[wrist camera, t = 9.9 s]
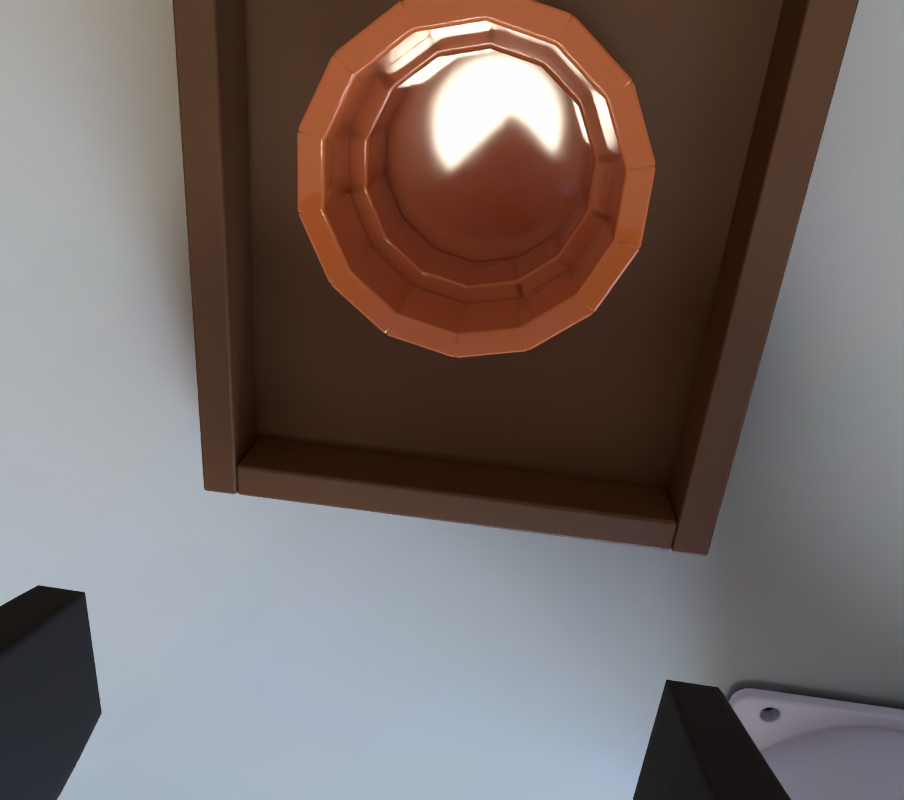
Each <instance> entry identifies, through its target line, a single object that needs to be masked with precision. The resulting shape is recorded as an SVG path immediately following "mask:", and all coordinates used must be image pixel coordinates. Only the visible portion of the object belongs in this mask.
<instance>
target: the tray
mask: <svg viewBox="0 0 904 800" xmlns="http://www.w3.org/2000/svg"><path fill="white" fill-rule="evenodd" d="M398 1H403V0H173V13H174V28H175V44H176V59H177V75H178V90H179V106H180V121H181V137H182V152H183V168H184V183H185V199H186V214H187V230H188V245H189V261H190V277H191V292H192V308H193V323H194V339H195V354H196V370H197V385H198V401H199V416H200V432H201V447H202V463H203V478H204V489H205V490H207V491H215V492H223V493H230V494H236V493H237V492H238V493H239V494H241V495H248V496H256V497H264V498H272V499H279V500H287V501H295V502H302V503H310V504H318V505H325V506H333V507H341V508H348V509H356V510H364V511H371V512H379V513H387V514H394V515H402V516H410V517H417V518H425V519H433V520H440V521H448V522H456V523H464V524H471V525H479V526H487V527H494V528H502V529H510V530H517V531H525V532H533V533H540V534H548V535H556V536H563V537H571V538H579V539H586V540H594V541H602V542H609V543H617V544H625V545H632V546H640V547H648V548H656V549H663V550H670V548H671V549H672V551H673V552H680V553H688V554H696V555H704V556H706V555H707V554H708V550H709V547H710V543H711V539H712V536H713V532H714V528H715V525H716V521H717V517H718V514H719V510H720V507H721V503H722V499H723V496H724V492H725V488H726V485H727V481H728V477H729V474H730V470H731V466H732V463H733V459H734V455H735V452H736V448H737V444H738V441H739V437H740V433H741V430H742V426H743V422H744V419H745V415H746V411H747V408H748V404H749V400H750V397H751V393H752V389H753V386H754V382H755V378H756V375H757V371H758V367H759V364H760V360H761V356H762V353H763V349H764V345H765V342H766V338H767V334H768V331H769V327H770V323H771V320H772V316H773V312H774V309H775V305H776V301H777V298H778V294H779V290H780V287H781V283H782V279H783V276H784V272H785V269H786V265H787V261H788V258H789V254H790V250H791V247H792V243H793V239H794V236H795V232H796V228H797V225H798V221H799V217H800V214H801V210H802V206H803V203H804V199H805V195H806V192H807V188H808V184H809V181H810V177H811V173H812V170H813V166H814V162H815V159H816V155H817V151H818V148H819V144H820V140H821V137H822V133H823V129H824V126H825V122H826V118H827V115H828V111H829V107H830V104H831V100H832V96H833V93H834V89H835V85H836V82H837V78H838V74H839V71H840V67H841V63H842V60H843V56H844V52H845V49H846V45H847V42H848V38H849V34H850V31H851V27H852V23H853V20H854V16H855V12H856V9H857V5H858V1H859V0H536V1H539V2H541V3H544V4H547V5H550V6H553V7H556V8H558V9H561V10H564V11H567V12H570V13H571V14H572V16H575V17H577V18H578V19H579V20H580V22H581V23H582V24H583V25H584V26H585V27H586V28H587V29H588V30H589V32H590V33H591V34H592V35H593V36H594V37H595V38H596V39H597V40H598V42H599V43H600V44H601V45H602V46H603V47H604V48H605V49H606V50H607V52H608V53H609V54H610V55H611V56H612V57H613V58H614V59H615V60H616V62H617V63H618V64H619V65H620V66H621V67H622V68H623V69H624V70H625V71H626V73H627V74H628V75H629V76H630V77H631V79H632V82H633V83H634V84H635V87H636V91H637V94H638V98H639V102H640V106H641V109H642V113H643V117H644V121H645V124H646V128H647V132H648V135H649V139H650V143H651V147H652V150H653V154H654V158H655V162H656V163H655V168H656V171H655V177H654V182H653V187H652V193H651V198H650V203H649V208H648V214H647V219H646V224H645V230H644V235H643V240H642V245H641V247H639V252H638V253H637V255H636V256H635V257H634V259H633V260H632V262H631V263H630V264H629V266H628V267H627V269H626V270H625V271H624V273H623V274H622V276H621V277H620V278H619V280H618V281H617V283H616V284H615V285H614V287H613V288H612V290H611V291H610V292H609V294H608V295H607V297H606V298H605V299H604V301H603V302H602V304H601V305H600V306H599V308H598V309H597V311H595V312H593V314H592V315H591V316H589V317H587V318H585V319H584V320H582V321H580V322H578V323H577V324H575V325H573V326H571V327H570V328H568V329H566V330H564V331H563V332H561V333H559V334H557V335H556V336H554V337H552V338H550V339H549V340H547V341H545V342H543V343H542V344H540V345H538V346H536V347H535V348H533V349H531V350H529V349H528V350H527V351H523V352H513V353H502V354H492V355H482V356H471V357H461V358H457V357H456V356H455V357H451V356H448V355H445V354H442V353H439V352H436V351H433V350H430V349H427V348H424V347H421V346H418V345H415V344H412V343H409V342H406V341H403V340H400V339H397V338H394V337H391V336H388V335H387V333H383V332H382V331H381V330H380V329H379V328H378V327H377V326H376V325H374V324H373V323H372V322H371V321H370V320H369V319H368V318H367V317H366V316H365V315H363V314H362V313H361V312H360V311H359V310H358V309H357V308H356V307H355V306H354V305H352V304H351V303H350V302H349V301H348V300H347V299H346V298H345V297H344V296H343V295H341V294H340V293H339V292H338V291H337V290H336V289H335V288H334V287H333V286H332V285H331V283H330V282H329V281H328V279H327V277H326V275H325V272H324V270H323V268H322V266H321V263H320V261H319V259H318V257H317V255H316V252H315V250H314V248H313V246H312V243H311V241H310V239H309V237H308V235H307V232H306V230H305V228H304V226H303V223H302V221H301V219H300V217H299V211H298V209H297V133H298V131H299V125H300V123H301V121H302V119H303V117H304V114H305V112H306V110H307V108H308V106H309V104H310V101H311V99H312V97H313V95H314V93H315V91H316V89H317V86H318V84H319V82H320V80H321V78H322V76H323V73H324V71H325V69H326V67H327V65H328V63H329V60H330V58H331V56H333V55H335V52H336V50H337V49H339V48H340V47H341V46H343V45H344V44H345V43H346V42H348V41H349V40H350V39H351V38H353V37H354V36H355V35H356V34H358V33H359V32H360V31H362V30H363V29H364V28H365V27H367V26H368V25H369V24H370V23H372V22H373V21H374V20H375V19H377V18H378V17H379V16H381V15H382V14H383V13H384V12H386V11H387V10H388V9H389V8H391V7H392V6H393V5H395V4H396V3H397V2H398Z"/></svg>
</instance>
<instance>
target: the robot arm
mask: <svg viewBox="0 0 904 800" xmlns="http://www.w3.org/2000/svg"><path fill="white" fill-rule="evenodd" d="M770 707H773V709H771V710H763V709H766V708H770ZM100 715H101V705H100V698H99V691H98V684H97V677H96V669H95V662H94V655H93V648H92V641H91V633H90V626H89V619H88V612H87V605H86V597H85V592H79V591H72V590H66V589H59V588H52V587H46V586H39V585H38V586H36V587H35V588H33V589H31V590H29V591H27V592H25V593H23V594H21V595H20V596H18V597H16V598H14V599H12V600H11V601H9V602H7V603H5V604H4V605H2V606H0V800H57V798H58V797H59V795H60V794H61V792H62V790H63V788H64V786H65V784H66V782H67V780H68V778H69V777H70V775H71V773H72V771H73V769H74V767H75V765H76V763H77V761H78V760H79V758H80V756H81V754H82V752H83V750H84V748H85V746H86V744H87V742H88V740H89V738H90V735H91V733H92V731H93V729H94V727H95V725H96V723H97V721H98V719H99V717H100ZM633 800H904V710H903V709H896V708H889V707H881V706H874V705H867V704H860V703H853V702H846V701H839V700H832V699H825V698H817V697H810V696H803V695H796V694H789V693H782V692H775V691H768V690H760V689H753V688H745V689H741V690H738V691H737V692H735V693H734V694H733V695H732V696H731V698H730V700H729V702H728V700H727V699H726V697H725V696H724V694H723V693H722V692H721V690H720V689H719V688H718V687H712V686H705V685H699V684H692V683H685V682H679V681H672V680H666V683H665V686H664V690H663V694H662V697H661V701H660V704H659V708H658V712H657V715H656V719H655V722H654V726H653V729H652V733H651V737H650V740H649V744H648V747H647V751H646V754H645V758H644V762H643V765H642V769H641V772H640V776H639V779H638V783H637V787H636V790H635V794H634V797H633Z"/></svg>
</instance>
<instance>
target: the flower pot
mask: <svg viewBox="0 0 904 800" xmlns="http://www.w3.org/2000/svg"><path fill="white" fill-rule="evenodd" d="M655 163H656V162H655V158H654V154H653V150H652V147H651V143H650V139H649V135H648V132H647V128H646V124H645V121H644V117H643V113H642V109H641V106H640V102H639V98H638V94H637V91H636V87H635V84H634V83H633V82H632V79H631V77H630V76H629V75H628V74H627V73H626V71H625V70H624V69H623V68H622V67H621V66H620V65H619V64H618V63H617V62H616V60H615V59H614V58H613V57H612V56H611V55H610V54H609V53H608V52H607V50H606V49H605V48H604V47H603V46H602V45H601V44H600V43H599V42H598V40H597V39H596V38H595V37H594V36H593V35H592V34H591V33H590V32H589V30H588V29H587V28H586V27H585V26H584V25H583V24H582V23H581V22H580V20H579V19H578V18H577V17H575V16H572V14H571V13H570V12H567V11H564V10H561V9H558V8H556V7H553V6H550V5H547V4H544V3H541V2H539V1H536V0H403V1H398V2H397V3H396V4H395V5H393V6H392V7H391V8H389V9H388V10H387V11H386V12H384V13H383V14H382V15H381V16H379V17H378V18H377V19H375V20H374V21H373V22H372V23H370V24H369V25H368V26H367V27H365V28H364V29H363V30H362V31H360V32H359V33H358V34H356V35H355V36H354V37H353V38H351V39H350V40H349V41H348V42H346V43H345V44H344V45H343V46H341V47H340V48H339V49H337V50H336V52H335V55H333V56H331V58H330V60H329V63H328V65H327V67H326V69H325V71H324V73H323V76H322V78H321V80H320V82H319V84H318V86H317V89H316V91H315V93H314V95H313V97H312V99H311V101H310V104H309V106H308V108H307V110H306V112H305V114H304V117H303V119H302V121H301V123H300V125H299V131H298V133H297V209H298V211H299V217H300V219H301V221H302V223H303V226H304V228H305V230H306V232H307V235H308V237H309V239H310V241H311V243H312V246H313V248H314V250H315V252H316V255H317V257H318V259H319V261H320V263H321V266H322V268H323V270H324V272H325V275H326V277H327V279H328V281H329V282H330V283H331V285H332V286H333V287H334V288H335V289H336V290H337V291H338V292H339V293H340V294H341V295H343V296H344V297H345V298H346V299H347V300H348V301H349V302H350V303H351V304H352V305H354V306H355V307H356V308H357V309H358V310H359V311H360V312H361V313H362V314H363V315H365V316H366V317H367V318H368V319H369V320H370V321H371V322H372V323H373V324H374V325H376V326H377V327H378V328H379V329H380V330H381V331H382V332H383V333H387V335H388V336H391V337H394V338H397V339H400V340H403V341H406V342H409V343H412V344H415V345H418V346H421V347H424V348H427V349H430V350H433V351H436V352H439V353H442V354H445V355H448V356H451V357H455V356H456V357H457V358H461V357H471V356H482V355H492V354H502V353H513V352H523V351H527V350H528V349H529V350H531V349H533V348H535V347H536V346H538V345H540V344H542V343H543V342H545V341H547V340H549V339H550V338H552V337H554V336H556V335H557V334H559V333H561V332H563V331H564V330H566V329H568V328H570V327H571V326H573V325H575V324H577V323H578V322H580V321H582V320H584V319H585V318H587V317H589V316H591V315H592V314H593V312H595V311H597V309H598V308H599V306H600V305H601V304H602V302H603V301H604V299H605V298H606V297H607V295H608V294H609V292H610V291H611V290H612V288H613V287H614V285H615V284H616V283H617V281H618V280H619V278H620V277H621V276H622V274H623V273H624V271H625V270H626V269H627V267H628V266H629V264H630V263H631V262H632V260H633V259H634V257H635V256H636V255H637V253H638V252H639V247H641V245H642V240H643V235H644V230H645V224H646V219H647V214H648V208H649V203H650V198H651V193H652V187H653V182H654V177H655V171H656V168H655Z"/></svg>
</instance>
